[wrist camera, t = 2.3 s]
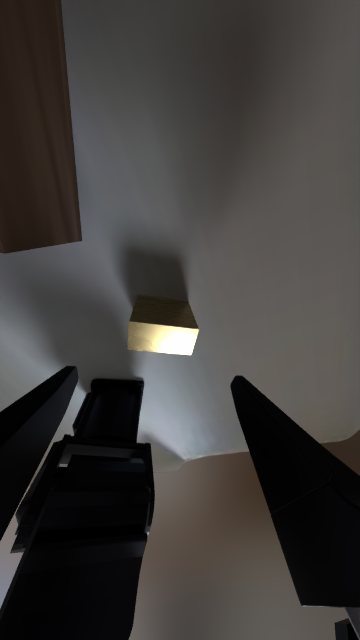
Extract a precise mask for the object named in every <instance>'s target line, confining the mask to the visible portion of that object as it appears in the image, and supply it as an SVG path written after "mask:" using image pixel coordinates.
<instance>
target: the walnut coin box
mask: <svg viewBox="0 0 360 640" xmlns="http://www.w3.org/2000/svg"><path fill="white" fill-rule="evenodd" d="M77 241H82V235H81V223H80V212H79V201H78V190H77V178H76V167H75V156H74V145H73V134H72V122H71V111H70V100H69V89H68V77H67V66H66V55H65V44H64V32H63V21H62V10H61V0H0V253H11V252H17V251H23V250H29V249H35V248H41V247H47V246H53V245H59V244H65V243H71V242H77Z"/></svg>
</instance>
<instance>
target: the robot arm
mask: <svg viewBox="0 0 360 640" xmlns="http://www.w3.org/2000/svg"><path fill="white" fill-rule="evenodd" d="M77 382H78V372H77V367H76V366H66V367H64V368H63V369H61V370H60V371H59V372H57V373H56V374H54V375H53V376H51V377H50V378H49V379H47V380H46V381H44V382H43V383H41V384H40V385H38V386H37V387H36V388H34V389H33V390H31V391H30V392H28V393H27V394H25V395H24V396H23V397H21V398H20V399H18V400H17V401H15V402H14V403H13V404H11V405H10V406H8V407H7V408H5V409H4V410H2V411H1V412H0V541H1V539H2V537H3V535H4V533H5V531H6V529H7V527H8V525H9V523H10V521H11V519H12V517H13V515H14V513H15V511H16V509H17V507H18V505H19V503H20V501H21V499H22V497H23V495H24V493H25V492H26V490H27V488H28V486H29V484H30V482H31V480H32V478H33V476H34V474H35V472H36V470H37V468H38V466H39V464H40V462H41V460H42V458H43V456H44V454H45V452H46V450H47V448H48V446H49V444H50V442H51V440H52V438H53V436H54V434H55V432H56V431H57V429H58V427H59V425H60V423H61V421H62V419H63V417H64V415H65V412H66V410H67V408H68V405H69V402H70V400H71V397H72V395H73V392H74V389H75V387H76V384H77ZM143 389H144V382H142V381H125V380H102V379H94V380H92V382H91V392H89V393H87V394H86V396H85V399H84V401H83V403H82V406H81V408H80V410H79V412H78V415H77V417H76V419H75V421H74V424H73V426H72V427H73V431H74V436H71V435H68V434H65V435H64V437H63V439H62V440H60V441H58V442H54V443H53V445H52V447H51V449H50V451H49V453H48V455H47V457H46V459H45V461H44V463H43V465H42V467H41V469H40V470H39V472H38V474H37V476H36V477H35V479H34V481H33V483H32V484H31V486H30V488H29V490H28V492H27V493H26V495H25V497H24V499H23V500H22V502H21V504H20V506H19V508H18V510H17V512H16V518H17V522H18V528H17V530H16V533H15V535H17V537H16V539H15V542H14V544H13V547H12V549H11V552H10V553H18V552H24V553H23V555H22V558H21V560H20V563H19V565H18V567H17V570H16V572H15V575H14V577H13V580H12V582H11V584H10V587H9V589H8V592H7V594H6V597H5V599H4V601H3V604H2V606H1V609H0V640H128V639H129V637H130V634H131V630H132V627H133V620H134V613H135V604H136V596H137V588H138V581H139V574H140V568H141V563H142V558H143V554H144V550H145V546H146V543H147V535H148V533H149V530H150V527H151V523H152V518H153V512H154V500H155V493H154V492H155V491H154V478H153V466H152V455H151V444H150V443H136V442H137V434H138V425H139V416H140V410H141V403H142V396H143ZM231 391H232V396H233V400H234V404H235V409H236V412H237V416H238V419H239V422H240V425H241V428H242V431H243V434H244V437H245V440H246V443H247V446H248V449H249V452H250V455H251V458H252V461H253V463H254V466H255V469H256V472H257V475H258V478H259V481H260V484H261V487H262V490H263V493H264V496H265V499H266V502H267V505H268V508H269V511H270V514H271V517H272V520H273V524H274V527H275V529H276V532H277V535H278V538H279V541H280V544H281V548H282V550H283V553H284V556H285V559H286V562H287V565H288V568H289V571H290V574H291V577H292V580H293V583H294V586H295V589H296V592H297V595H298V598H299V601H300V603H301V605H302V606H316V607H343V608H344V610H345V612H346V614H347V616H348V618H347V619H345V620H342V621H338V622H336V623H335V634H336V640H360V476H359V475H358V474H357V473H355V472H354V471H353V470H352V469H350V468H349V467H348V466H347V465H345V464H344V463H343V462H342V461H340V460H339V459H338V458H337V457H335V456H334V455H333V454H331V453H330V452H329V451H328V450H327V449H325V448H324V447H323V446H322V445H321V444H319V443H318V442H317V441H316V440H315V439H314V438H312V437H311V436H310V435H309V434H308V433H307V432H306V431H304V430H303V429H302V428H301V427H300V426H299V425H298V424H296V423H295V422H294V421H293V420H292V419H291V418H290V417H289V416H287V415H286V414H285V413H284V412H283V411H282V410H281V409H279V408H278V407H277V406H276V405H275V404H274V403H273V402H271V401H270V400H269V399H268V398H267V397H266V396H265V395H264V394H262V393H261V392H260V391H259V390H258V389H257V388H256V387H254V386H253V385H252V384H251V383H250V382H249V381H248V380H247V379H245V378H244V377H243V376H238V375H237V376H235V377H234V379H233V381H232V383H231ZM60 464H68V465H67V467H59V465H60Z"/></svg>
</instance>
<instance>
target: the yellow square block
mask: <svg viewBox="0 0 360 640" xmlns="http://www.w3.org/2000/svg"><path fill="white" fill-rule="evenodd" d="M198 332H199V328H198V325H197V323H196V320H195V318H194V315H193V312H192V310H191V307H190V305H189V302H183V301H177V300H170V299H164V298H157V297H150V296H144V295H138V296H137V299H136V302H135V305H134V308H133V311H132V314H131V317H130V320H129V332H128V349H127V350H139V351H151V352H163V353H175V354H187V355H191V353H192V350H193V347H194V344H195V341H196V338H197V335H198Z"/></svg>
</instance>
